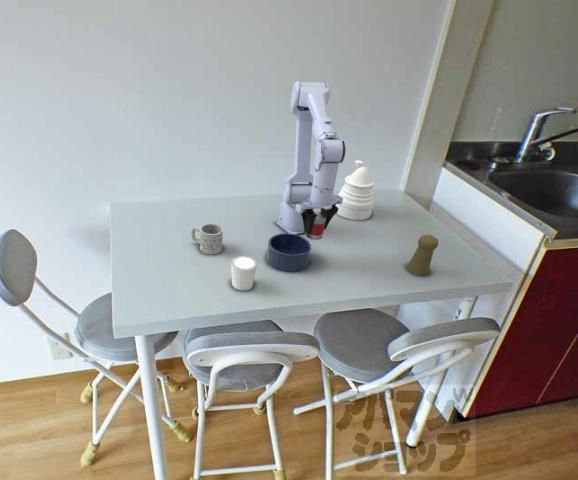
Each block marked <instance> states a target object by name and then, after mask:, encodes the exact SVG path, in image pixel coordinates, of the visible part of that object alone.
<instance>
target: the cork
mask: <svg viewBox="0 0 578 480" xmlns="http://www.w3.org/2000/svg"><path fill="white" fill-rule="evenodd" d="M417 245H418V246H417V248H416V250H415V252H414V253H413V255H412V257H411V259H410V261H409V262H408V264H407V266H406V269H407V271H409V272H410V273H411V274H413V275H417V276H422V277H423V276H427V275H428V274H429V272H430V267H431V263H432V259H433V255H434V251H435V250H436V249H437V248H438V246H439V239H438V238H437V237H436V236H434V235H431V234H423V235H421V236H420V237H419V238H418V241H417Z"/></svg>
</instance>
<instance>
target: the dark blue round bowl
mask: <svg viewBox="0 0 578 480" xmlns="http://www.w3.org/2000/svg"><path fill="white" fill-rule="evenodd" d="M311 249H312V244H311V243H310V241H309V240H308V239H307V238H305V237H303V236H302V235H300V234H296V235H295V234H289V233H288V232H286V233H285V232H284V233H277V234H275V235H272V236H271V237H269V239H268V243H267V252H266V261H267V263H268V265H270V266H271V267H273V268H274V269H276V270H279V271H282V272H288V273H290V272H292V273H294V272H299V271H302V270H304V269H305V268H306V267H307V266H308V265H309V261H310V255H311Z"/></svg>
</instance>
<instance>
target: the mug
mask: <svg viewBox="0 0 578 480" xmlns="http://www.w3.org/2000/svg"><path fill="white" fill-rule="evenodd" d="M196 232H198V233H199V238H197V237H196ZM223 235H224V228H223V227H222V225H219V224H217V223H205V224H203V225H201V226H193V227H192V228H191V240H192V241H194V242H195V243H197V244H198V245H199V250H200V252H202V253H204V254H206V255H217V254H219V253H221V252H222V251H223V237H224V236H223Z"/></svg>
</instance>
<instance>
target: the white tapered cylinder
mask: <svg viewBox="0 0 578 480" xmlns="http://www.w3.org/2000/svg"><path fill="white" fill-rule="evenodd" d="M230 265H231V266H230V267H231V268H230V269H231V270H230V271H231V285H232V287H233V288H234V289H236V290H239V291H248V290H251V289H252V288H253V286H254V280H255V277H256V271H257V268H258V262H257V260H256V259H254V258H253V257H251V256H248V255H239V256H236V257H233V258H232V259H231V262H230Z"/></svg>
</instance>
